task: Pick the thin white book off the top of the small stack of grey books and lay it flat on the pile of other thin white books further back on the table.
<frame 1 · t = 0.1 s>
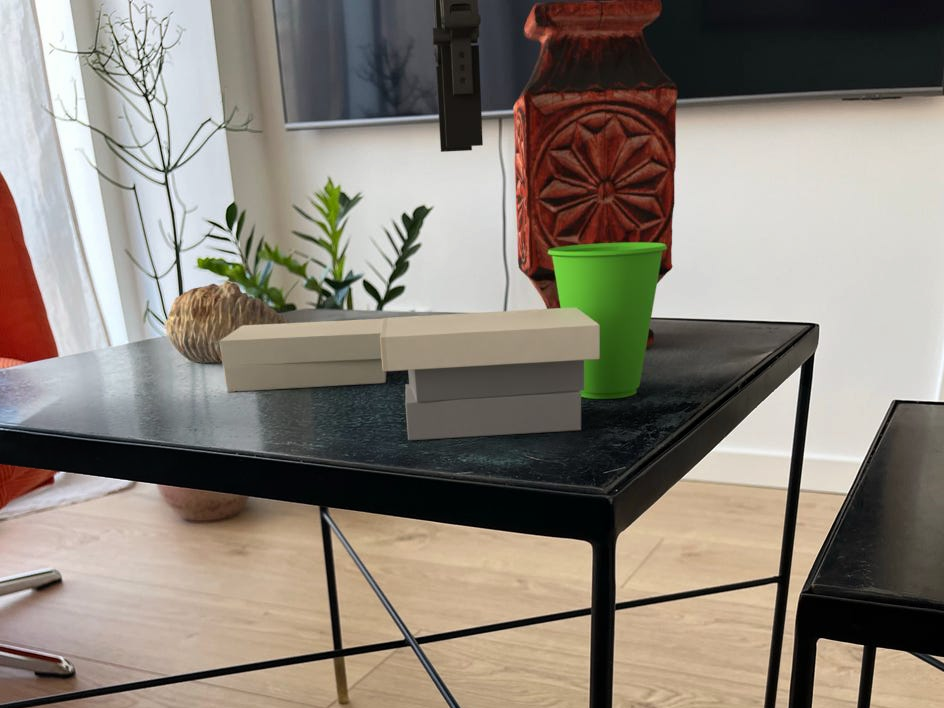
hand: (460, 149, 82), 18 cm above the table, tool pointing down, fingers open, 13 cm apart
vase: (590, 345, 106), on the table
white pile: (311, 377, 94), on the table
cup: (606, 395, 82), on the table
grey books: (491, 424, 73), on the table
white book: (488, 353, 71), point 5 cm above the table, touching grey books
seashell: (229, 360, 108), on the table
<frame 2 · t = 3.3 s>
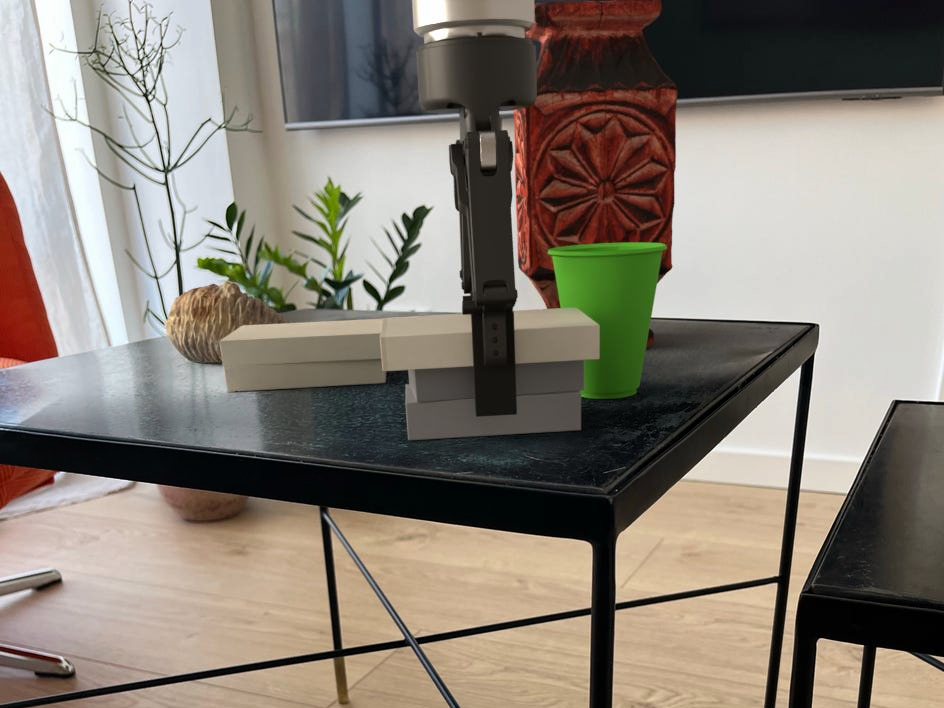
hand: (490, 398, 72), 2 cm above the table, tool pointing down, fingers closed on white book, 10 cm apart
white book: (488, 353, 71), point 5 cm above the table, touching grey books, gripper
everything else where it was.
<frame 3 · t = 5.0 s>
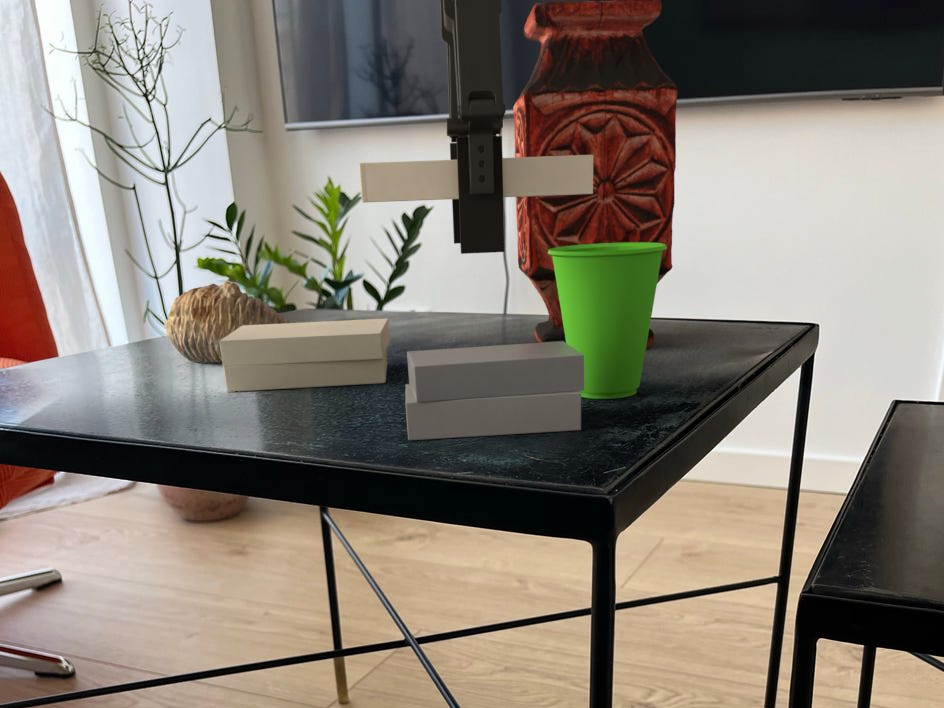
hand: (477, 247, 68), 12 cm above the table, tool pointing down, fingers closed on white book, 10 cm apart
white book: (475, 196, 67), point 15 cm above the table, touching gripper
everything else where it was.
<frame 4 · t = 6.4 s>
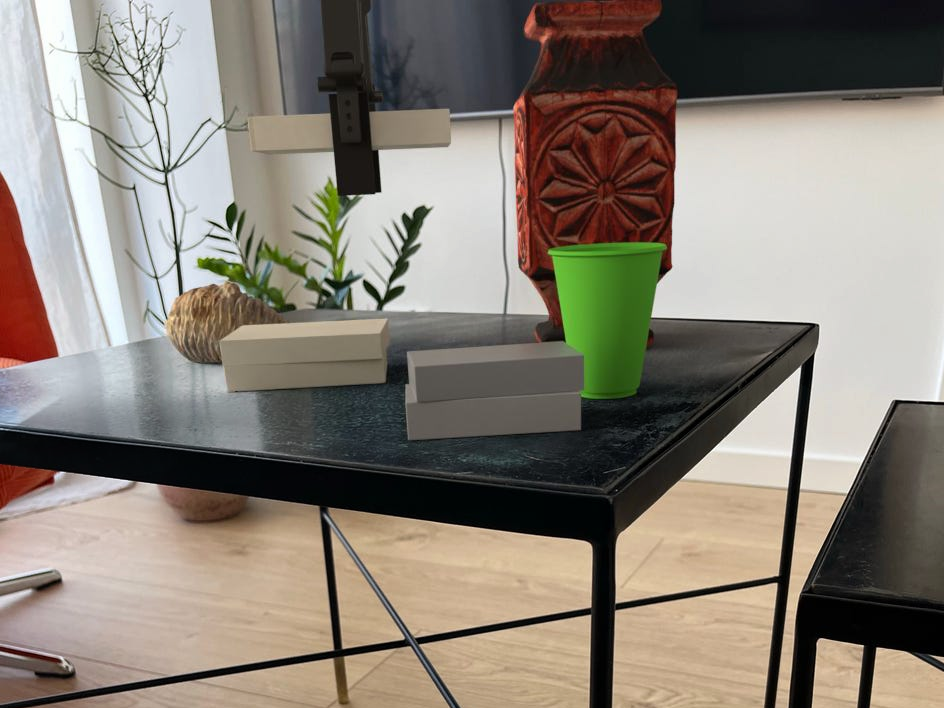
hand: (361, 194, 78), 15 cm above the table, tool pointing down, fingers closed on white book, 10 cm apart
white book: (357, 149, 77), point 19 cm above the table, touching gripper
everything else where it was.
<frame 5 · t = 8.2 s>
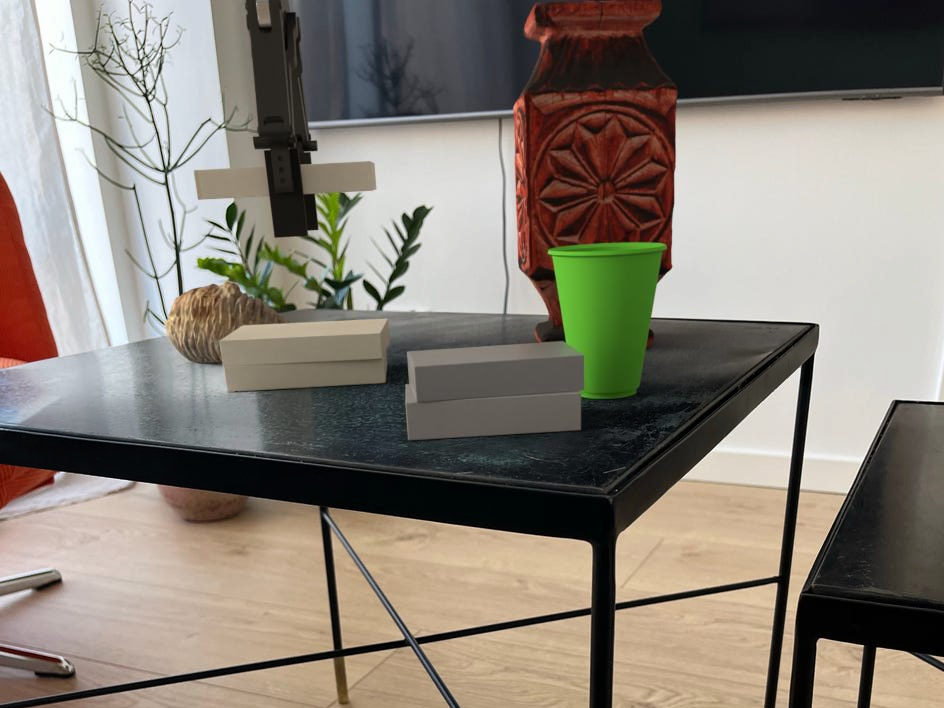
hand: (297, 233, 89), 12 cm above the table, tool pointing down, fingers closed on white book, 10 cm apart
white book: (293, 194, 88), point 16 cm above the table, touching gripper
everything else where it was.
when the fingers open (5 cm above the table, at t = 9.8 s): white book drops 3 cm, resting on white pile.
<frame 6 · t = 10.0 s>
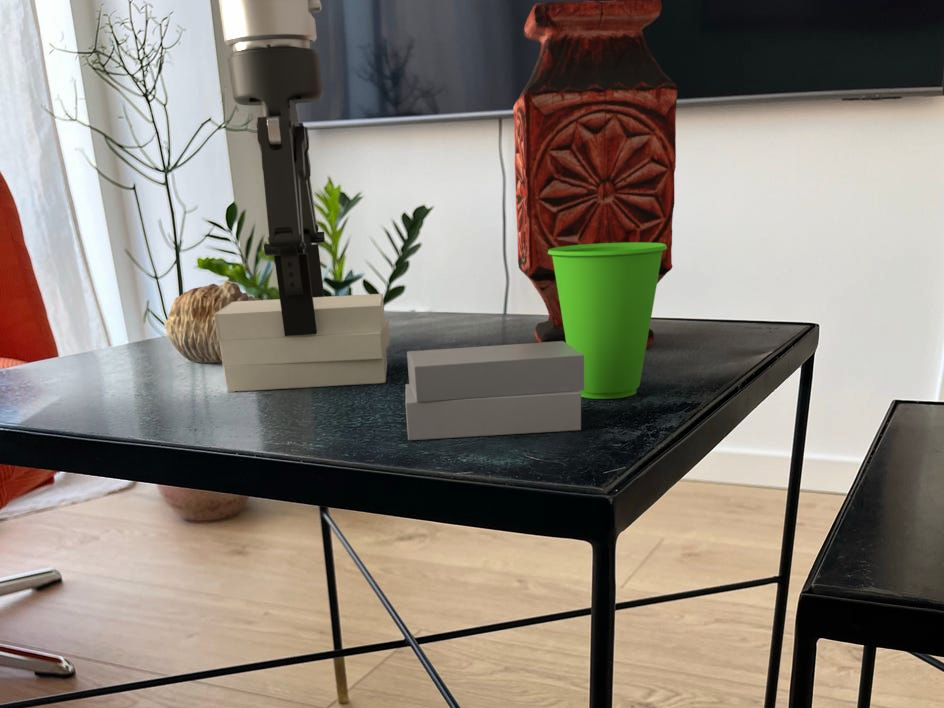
hand: (306, 325, 93), 5 cm above the table, tool pointing down, fingers open, 11 cm apart
white book: (307, 328, 93), point 4 cm above the table, touching white pile
everything else where it was.
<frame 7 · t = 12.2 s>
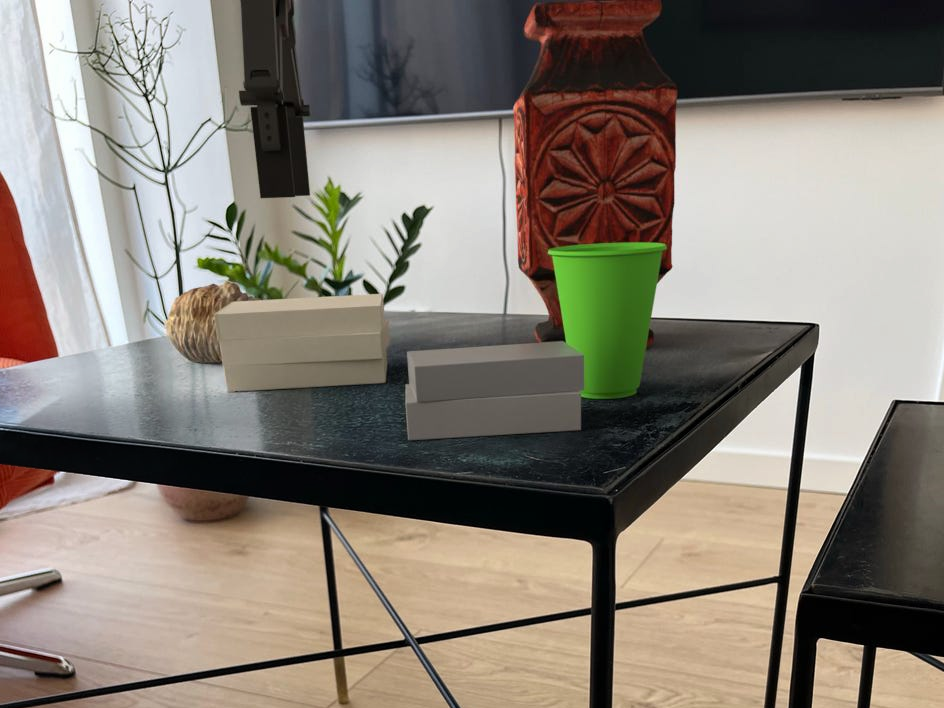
hand: (287, 197, 88), 15 cm above the table, tool pointing down, fingers open, 13 cm apart
nothing on the table moved.
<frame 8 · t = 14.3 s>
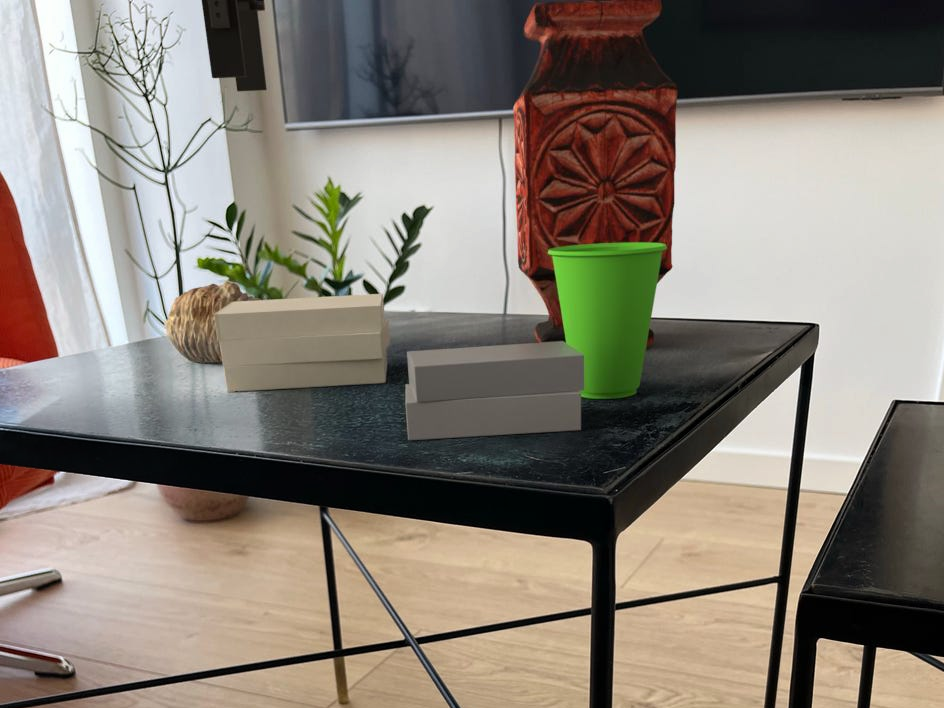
hand: (241, 85, 90), 25 cm above the table, tool pointing down, fingers open, 13 cm apart
nothing on the table moved.
at the end: white book 0.2 cm off-centre on the white pile, point 4.4 cm above the white pile's base; white book tilted 0°; the gripper is holding nothing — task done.
